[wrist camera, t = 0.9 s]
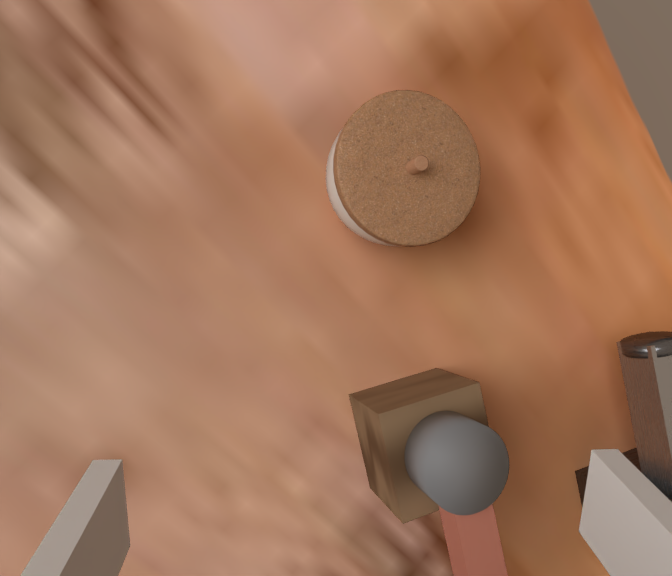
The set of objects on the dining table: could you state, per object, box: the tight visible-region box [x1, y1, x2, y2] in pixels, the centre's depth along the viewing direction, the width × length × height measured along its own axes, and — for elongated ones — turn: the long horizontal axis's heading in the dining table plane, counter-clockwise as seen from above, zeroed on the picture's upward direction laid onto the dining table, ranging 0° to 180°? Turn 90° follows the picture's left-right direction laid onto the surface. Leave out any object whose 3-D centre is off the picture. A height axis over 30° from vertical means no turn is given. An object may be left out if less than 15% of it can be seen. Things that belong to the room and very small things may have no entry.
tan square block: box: [349, 368, 489, 524], centre depth 43 cm, size 8×8×7 cm
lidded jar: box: [326, 90, 480, 247], centre depth 41 cm, size 11×11×9 cm
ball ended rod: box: [404, 411, 509, 576], centre depth 37 cm, size 16×6×5 cm, turn 14°
